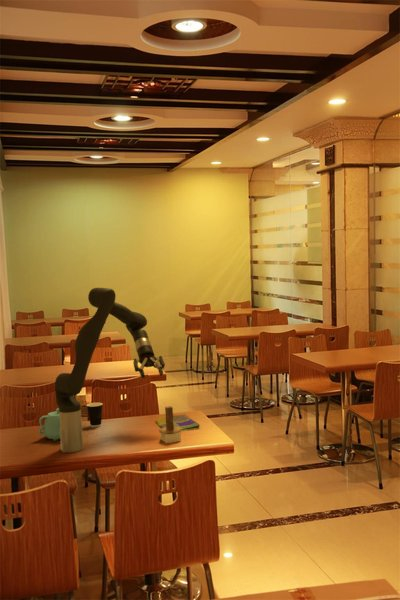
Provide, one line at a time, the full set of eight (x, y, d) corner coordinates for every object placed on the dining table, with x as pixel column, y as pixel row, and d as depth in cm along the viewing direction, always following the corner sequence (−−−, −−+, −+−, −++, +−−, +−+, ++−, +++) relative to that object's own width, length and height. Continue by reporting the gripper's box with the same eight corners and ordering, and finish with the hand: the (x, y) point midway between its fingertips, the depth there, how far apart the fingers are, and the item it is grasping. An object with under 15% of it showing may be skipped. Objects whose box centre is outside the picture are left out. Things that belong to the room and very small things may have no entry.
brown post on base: (163, 435, 272) (161, 410, 271) (156, 430, 281) (155, 406, 280) (183, 432, 275) (182, 407, 275) (176, 427, 284) (175, 403, 284)
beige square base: (165, 443, 274) (165, 434, 273) (161, 439, 280) (160, 430, 280) (180, 440, 276) (180, 431, 276) (175, 437, 283) (175, 428, 283)
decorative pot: (62, 443, 282) (60, 414, 281) (35, 440, 290) (34, 411, 289) (85, 434, 296) (84, 406, 295) (60, 431, 304) (58, 403, 304)
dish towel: (164, 434, 291) (164, 428, 291) (154, 422, 314) (154, 417, 314) (201, 429, 295) (200, 424, 295) (188, 418, 319) (188, 413, 319)
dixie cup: (88, 424, 315) (87, 403, 314) (104, 423, 316) (103, 401, 315) (87, 428, 307) (85, 406, 307) (103, 427, 308) (101, 405, 307)
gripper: (131, 345, 296) (139, 373, 285) (159, 342, 301) (168, 369, 291) (128, 355, 301) (136, 382, 291) (157, 352, 306) (165, 379, 296)
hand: (152, 376), depth 291 cm, fingers open, 8 cm apart
